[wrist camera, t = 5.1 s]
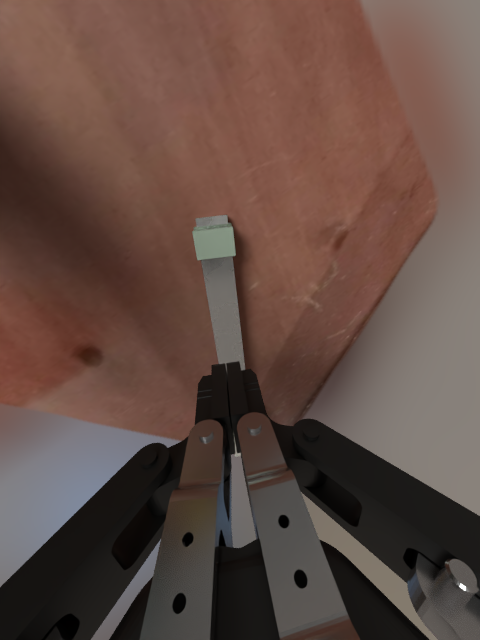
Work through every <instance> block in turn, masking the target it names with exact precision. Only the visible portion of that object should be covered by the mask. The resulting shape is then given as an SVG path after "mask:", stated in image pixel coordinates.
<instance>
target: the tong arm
mask: <svg viewBox="0 0 480 640" xmlns="http://www.w3.org/2000/svg"><path fill="white" fill-rule="evenodd" d="M192 233H193V238H194V244H195V249H196V255H197V260H201V263H202V268H203V274H204V280H205V286H206V292H207V298H208V303H209V309H210V315H211V321H212V327H213V333H214V338H215V344H216V350H217V356H218V362H219V364H223V363H225V365H226V363H229V362H236V361H240V367H241V370H245V362H244V353H243V345H242V336H241V327H240V318H239V309H238V300H237V291H236V283H235V274H234V265H233V256H236V252H235V243H234V233H233V227H232V226H228V227H220V228H211V229H202V230H194V231H192ZM226 371H227V366H226Z"/></svg>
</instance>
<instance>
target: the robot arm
mask: <svg viewBox="0 0 480 640" xmlns="http://www.w3.org/2000/svg"><path fill="white" fill-rule="evenodd" d="M226 366H227V371H226ZM234 438H235V442H234ZM235 444H236V450H237V453H241V458H242V464H243V470H244V476H245V481H246V486H247V491H248V496H249V501H250V507H251V512H252V517H253V523H254V527H255V534H256V540H255V541H253V542H251V543H249V544H247V545H246V546H244V547H242V548H233V541H232V528H231V454H236V452H235ZM301 492H302V493H303V494H304V495H305V496H307V497H308V498H309V499H310V500H311V501H312V502H314V503H315V504H316V505H317V506H318V507H319V508H321V509H322V510H323V511H324V512H325V513H326V514H327V515H329V516H330V517H331V518H332V519H334V521H336V522H337V523H338V524H339V525H340V526H341V527H343V528H344V529H345V530H346V531H347V532H349V533H350V534H351V535H352V536H353V537H354V538H355V539H356V540H358V541H359V542H360V543H361V544H362V545H363V546H365V547H366V548H367V549H368V550H369V551H370V552H372V553H373V554H374V555H375V556H376V557H377V558H379V559H380V560H381V561H382V562H383V563H384V564H385V565H387V566H388V567H389V568H390V569H391V570H392V571H394V572H395V573H396V574H397V575H398V576H399V577H401V578H402V579H403V580H404V581H405V582H406V583H407V584H408V592H409V596H410V599H411V602H412V604H413V607H414V609H415V611H416V613H417V614H418V616H419V617H420V619H421V620H422V622H423V623H424V624H425V626H426V627H427V628H428V629H429V630H430V631H431V632H432V633H433V635H434V636H435V637H436V638H437V639H438V640H480V516H478V515H477V514H475V513H473V512H472V511H470V510H468V509H467V508H465V507H463V506H461V505H460V504H458V503H456V502H455V501H453V500H451V499H450V498H448V497H446V496H445V495H443V494H441V493H439V492H438V491H436V490H434V489H433V488H431V487H429V486H428V485H426V484H424V483H422V482H421V481H419V480H417V479H416V478H414V477H412V476H410V475H409V474H407V473H406V472H404V471H402V470H401V469H399V468H397V467H395V466H394V465H392V464H390V463H389V462H387V461H385V460H384V459H382V458H380V457H378V456H377V455H375V454H373V453H372V452H370V451H368V450H367V449H365V448H363V447H362V446H360V445H358V444H356V443H354V442H353V441H351V440H349V439H348V438H346V437H345V436H343V435H341V434H340V433H338V432H336V431H334V430H333V429H331V428H329V427H328V426H326V425H324V424H323V423H321V422H319V421H317V420H314V419H303V420H300V421H298V422H297V423H296V424H295V425H294V427H293V426H285V425H280V424H277V423H275V422H274V421H272V420H271V419H270V418H269V417H268V415H267V413H266V410H265V406H264V403H263V399H262V395H261V391H260V388H259V384H258V380H257V376H256V374H255V373H254V372H253V371H252V370H251V369H247V370H241V367H240V361H236V362H229V363H226V365H225V363H223V364H216V365H212V375H208V376H203V377H202V379H201V380H200V382H199V383H198V394H197V405H196V417H195V426H194V427H193V428H192V429H191V431H190V433H189V436H188V437H187V438H186V439H184V440H183V441H181V442H180V443H178V444H176V445H173V446H171V447H169V448H167V447H166V446H165V445H164V444H161V443H152V444H149V445H147V446H145V447H143V448H142V449H141V450H140V451H138V452H137V453H136V454H135V455H134V456H133V457H132V458H131V459H130V460H129V461H128V462H127V463H126V464H125V465H124V466H123V467H122V468H121V469H120V470H119V471H118V472H117V473H116V474H115V475H114V476H113V477H112V478H111V479H110V480H109V481H108V482H107V483H106V484H105V485H104V486H103V487H102V488H101V489H100V490H99V491H98V492H97V493H96V494H95V495H94V496H93V497H92V498H90V500H89V501H87V502H86V504H84V506H83V507H81V508H80V509H79V510H78V511H77V512H76V513H75V514H74V515H73V516H72V517H71V518H70V519H69V520H68V521H67V522H66V523H65V524H64V525H63V526H62V527H61V528H60V529H59V530H58V531H57V532H56V533H55V534H54V535H53V536H52V537H51V538H50V539H49V540H48V541H47V542H46V543H45V544H44V545H43V546H42V547H41V548H40V549H39V550H38V551H37V552H36V553H35V554H34V555H33V556H32V557H31V558H30V559H29V560H28V561H26V562H25V564H24V565H23V566H22V567H20V569H18V570H17V571H16V573H14V574H13V575H12V576H11V577H10V578H9V579H8V580H7V581H6V582H5V583H4V584H3V585H2V586H1V587H0V640H91V638H92V637H93V635H94V634H95V632H96V631H97V630H98V628H99V627H100V625H101V624H102V622H103V621H104V619H105V618H106V616H107V615H108V614H109V612H110V611H111V609H112V608H113V607H114V605H115V604H116V602H117V600H118V599H119V598H120V597H121V595H122V594H123V592H124V591H125V589H126V588H127V586H128V585H129V584H130V582H131V581H132V579H133V578H134V576H135V575H136V574H137V572H138V570H139V569H140V568H141V566H142V565H143V564H144V562H145V561H146V559H147V558H148V556H149V555H150V553H151V552H152V551H153V549H154V548H155V546H156V545H157V543H158V542H159V541H160V539H161V542H160V547H159V552H158V556H157V561H156V566H155V570H154V575H153V577H152V578H151V579H150V580H149V581H148V583H147V584H146V585H145V586H144V587H143V589H142V590H141V591H140V593H139V594H138V595H137V597H136V598H135V600H134V601H133V603H132V604H131V606H130V607H129V609H128V611H127V612H126V614H125V615H124V617H123V619H122V620H121V622H120V623H119V625H118V626H117V628H116V630H115V631H114V633H113V634H112V636H111V638H110V639H109V640H429V639H428V638H427V637H426V636H425V635H424V634H423V633H422V632H421V631H420V630H419V629H418V628H417V627H416V626H415V625H414V624H413V623H412V622H411V621H410V620H409V619H408V618H407V617H406V616H405V615H404V614H403V613H402V612H401V611H400V610H399V609H398V608H397V607H396V606H395V605H394V604H393V603H392V602H391V601H390V600H389V599H388V598H387V597H386V596H385V595H384V594H383V593H382V592H381V591H380V590H379V589H378V588H377V587H376V586H375V585H374V584H373V583H372V582H371V581H370V580H369V579H368V578H367V577H366V576H365V575H364V574H363V573H362V572H361V571H360V570H359V569H358V568H357V567H356V566H355V565H354V564H353V563H352V562H351V561H350V560H349V559H348V558H347V557H345V556H344V555H343V554H342V553H341V552H339V551H338V550H337V549H336V548H334V547H332V546H331V545H329V544H327V543H326V542H323V541H321V540H319V538H318V536H317V533H316V531H315V528H314V525H313V523H312V520H311V517H310V515H309V512H308V510H307V507H306V504H305V502H304V499H303V497H302V494H301Z"/></svg>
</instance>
